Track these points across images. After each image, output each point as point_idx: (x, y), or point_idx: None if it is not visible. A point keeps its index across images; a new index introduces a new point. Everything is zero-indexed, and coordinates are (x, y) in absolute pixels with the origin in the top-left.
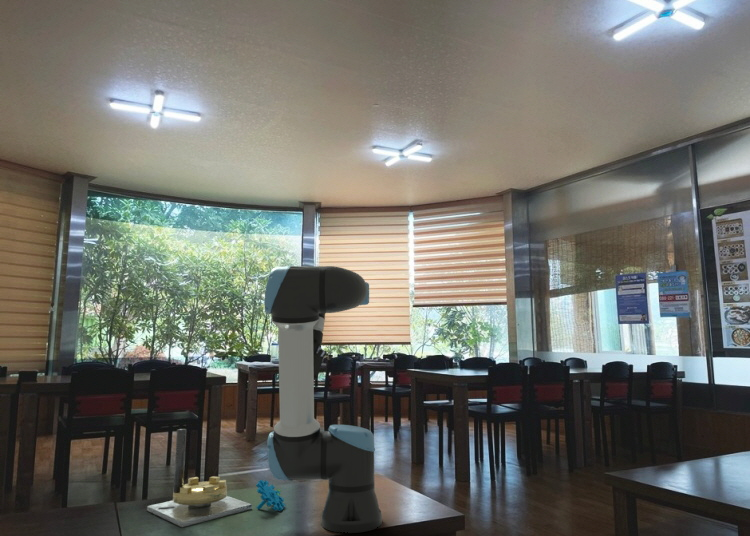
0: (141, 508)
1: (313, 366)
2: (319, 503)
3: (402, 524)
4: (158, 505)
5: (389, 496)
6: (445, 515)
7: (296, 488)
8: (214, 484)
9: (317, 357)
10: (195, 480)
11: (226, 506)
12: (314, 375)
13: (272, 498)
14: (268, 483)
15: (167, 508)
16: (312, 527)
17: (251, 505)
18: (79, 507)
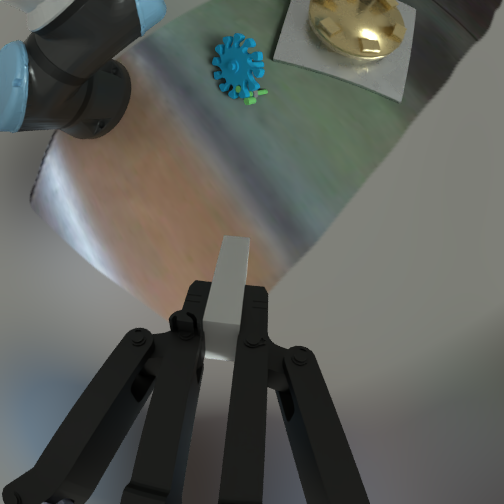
0: (429, 20)
1: (98, 409)
2: (184, 144)
3: (52, 137)
4: (405, 13)
5: (115, 238)
6: (36, 196)
7: (287, 209)
8: (357, 38)
9: (44, 463)
10: (393, 30)
11: (305, 33)
12: (148, 383)
13: (226, 61)
14: (254, 75)
15: None
16: (131, 54)
17: (273, 58)
18: (487, 20)
